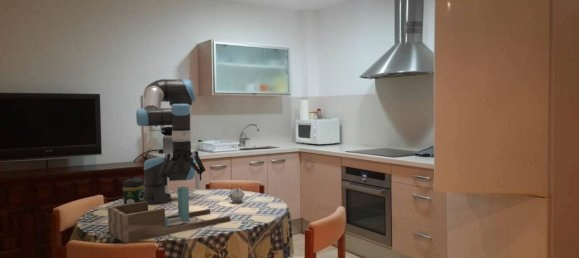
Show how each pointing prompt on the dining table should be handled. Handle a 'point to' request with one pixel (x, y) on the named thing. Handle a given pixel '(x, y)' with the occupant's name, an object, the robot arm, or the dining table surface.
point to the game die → (236, 195)
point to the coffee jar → (133, 190)
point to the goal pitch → (149, 222)
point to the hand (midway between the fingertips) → (182, 190)
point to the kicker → (180, 207)
